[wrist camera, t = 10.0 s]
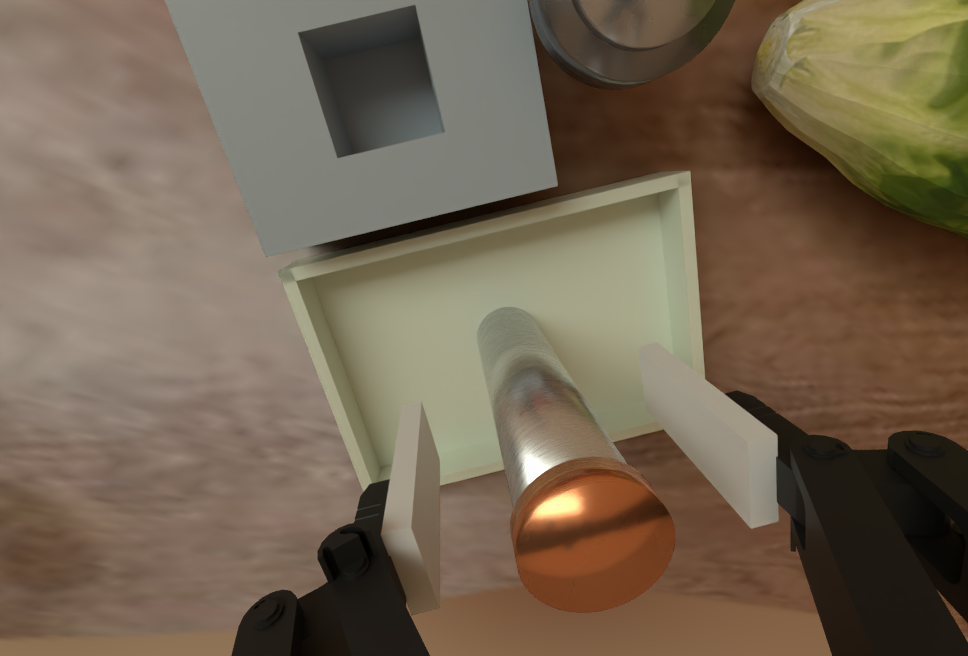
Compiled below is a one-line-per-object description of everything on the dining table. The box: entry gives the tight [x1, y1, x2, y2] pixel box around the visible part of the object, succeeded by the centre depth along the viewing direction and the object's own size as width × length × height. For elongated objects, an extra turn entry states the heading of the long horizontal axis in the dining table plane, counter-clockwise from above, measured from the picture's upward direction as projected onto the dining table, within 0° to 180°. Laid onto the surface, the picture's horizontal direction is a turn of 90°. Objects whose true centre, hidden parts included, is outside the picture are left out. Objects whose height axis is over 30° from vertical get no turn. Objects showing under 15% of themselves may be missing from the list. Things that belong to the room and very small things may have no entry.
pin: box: [477, 307, 675, 613], centre depth 18 cm, size 4×4×15 cm
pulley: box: [529, 0, 735, 90], centre depth 17 cm, size 6×6×8 cm
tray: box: [278, 171, 705, 492], centre depth 24 cm, size 19×13×3 cm
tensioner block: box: [165, 0, 558, 257], centre depth 19 cm, size 12×10×5 cm
